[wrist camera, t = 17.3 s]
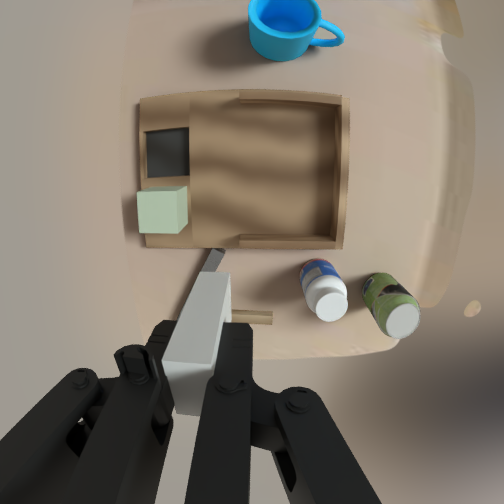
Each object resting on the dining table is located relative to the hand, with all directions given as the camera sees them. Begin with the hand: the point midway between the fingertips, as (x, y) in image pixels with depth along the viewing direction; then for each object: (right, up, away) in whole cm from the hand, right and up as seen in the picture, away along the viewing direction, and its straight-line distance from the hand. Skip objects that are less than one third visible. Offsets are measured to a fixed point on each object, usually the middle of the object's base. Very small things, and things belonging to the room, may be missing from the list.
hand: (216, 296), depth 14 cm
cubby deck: (0, +13, +21) cm, 25 cm away
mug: (+7, +31, +15) cm, 35 cm away
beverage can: (+21, -3, +27) cm, 34 cm away
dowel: (-1, -7, +29) cm, 30 cm away
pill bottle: (+11, -1, +26) cm, 29 cm away
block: (-9, +9, +21) cm, 25 cm away
